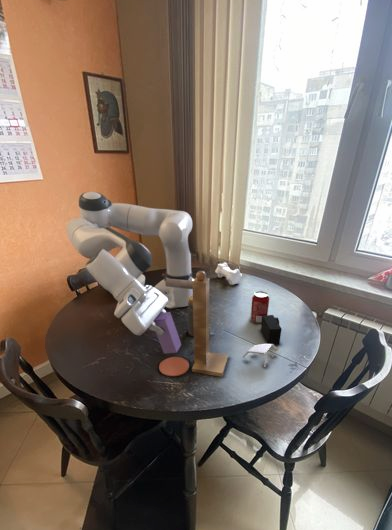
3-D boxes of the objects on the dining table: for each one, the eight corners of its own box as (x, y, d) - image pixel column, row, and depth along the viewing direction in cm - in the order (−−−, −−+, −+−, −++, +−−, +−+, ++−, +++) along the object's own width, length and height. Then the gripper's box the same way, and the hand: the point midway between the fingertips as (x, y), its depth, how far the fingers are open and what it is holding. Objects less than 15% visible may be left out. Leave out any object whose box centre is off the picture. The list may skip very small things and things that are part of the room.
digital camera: (282, 344, 110) (285, 328, 106) (268, 345, 110) (270, 329, 106) (273, 330, 119) (276, 314, 115) (260, 330, 119) (262, 315, 115)
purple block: (151, 320, 90) (164, 319, 88) (157, 313, 94) (170, 311, 92) (163, 353, 96) (176, 352, 94) (168, 345, 99) (181, 344, 98)
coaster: (153, 370, 99) (152, 369, 99) (170, 354, 106) (170, 353, 106) (178, 380, 95) (178, 379, 94) (194, 363, 102) (194, 362, 102)
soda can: (266, 325, 122) (269, 298, 116) (249, 323, 124) (252, 297, 117) (266, 317, 128) (269, 291, 122) (250, 315, 129) (252, 290, 123)
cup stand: (167, 367, 100) (159, 274, 83) (177, 350, 108) (171, 262, 91) (222, 376, 96) (225, 280, 78) (228, 358, 104) (232, 267, 86)
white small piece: (260, 373, 97) (261, 360, 94) (241, 361, 102) (242, 349, 100) (283, 358, 103) (285, 346, 101) (264, 347, 109) (265, 336, 106)
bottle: (192, 337, 115) (191, 302, 107) (185, 330, 120) (184, 296, 112) (205, 333, 117) (205, 299, 109) (198, 327, 122) (198, 293, 114)
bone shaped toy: (242, 283, 159) (243, 269, 154) (228, 287, 156) (229, 272, 151) (227, 274, 170) (227, 260, 166) (214, 277, 167) (214, 263, 163)
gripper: (142, 288, 100) (171, 317, 103) (111, 317, 84) (147, 351, 86) (153, 276, 97) (183, 307, 100) (123, 304, 80) (160, 340, 83)
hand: (166, 328), depth 93 cm, fingers closed on purple block, 4 cm apart
